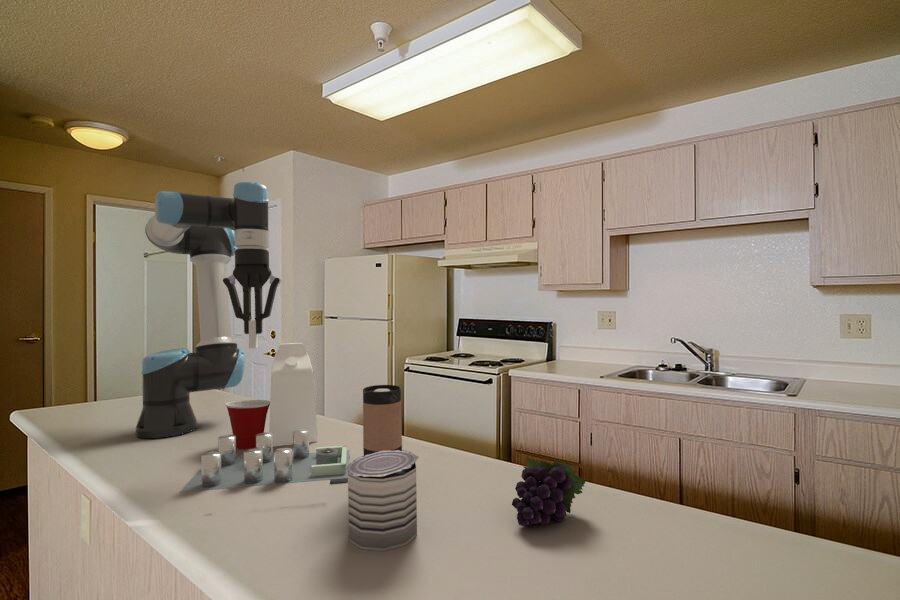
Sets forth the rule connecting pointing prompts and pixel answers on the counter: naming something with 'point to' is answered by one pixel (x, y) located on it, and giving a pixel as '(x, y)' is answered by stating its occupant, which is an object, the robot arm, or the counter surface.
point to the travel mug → (382, 419)
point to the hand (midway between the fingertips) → (253, 347)
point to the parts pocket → (331, 468)
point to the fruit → (546, 492)
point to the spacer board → (265, 474)
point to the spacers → (254, 458)
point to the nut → (327, 456)
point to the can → (382, 500)
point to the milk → (292, 394)
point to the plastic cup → (247, 421)
